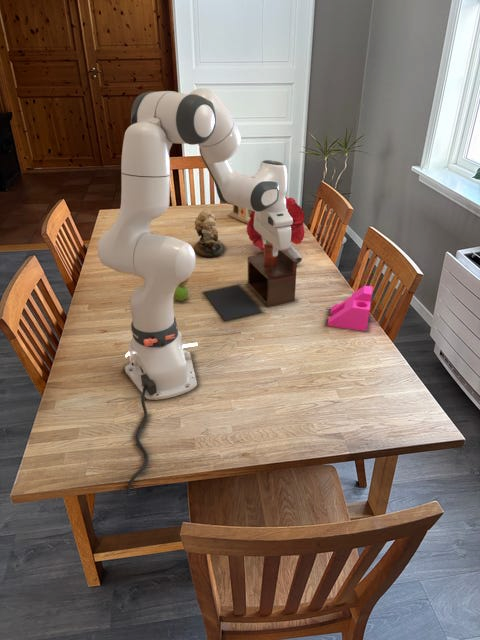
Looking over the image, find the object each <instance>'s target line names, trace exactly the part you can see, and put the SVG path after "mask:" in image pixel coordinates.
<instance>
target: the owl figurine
mask: <svg viewBox="0 0 480 640" xmlns="http://www.w3.org/2000/svg"><path fill="white" fill-rule="evenodd" d="M215 217H216V216H215V215H214V214H213V213H212V212H211V210H209V209H204V210H202V211H201V212H199V214H198V216H197V217H196V218H195V221H194V229H195V231H196V234H197V236H198V237H199V240H198V241H197V242H196V244H195V246H194V248H195V249H194V251H195V252H196V254H197V255H199V256H200V257H203V258H204V257H205V258H211V257H214V258H215V257H219V256H222V255H223V253H224V251H225V246H224V244H223V242H221V240H220V239H219V231H218V229H217V226H216V225H217V223H216V218H215Z"/></svg>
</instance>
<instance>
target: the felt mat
mask: <svg viewBox="0 0 480 640" xmlns="http://www.w3.org/2000/svg"><path fill="white" fill-rule="evenodd" d="M203 294H204V295H205V297H206V298H207V299H208V300H209V302H210V303H211V305H212V306H213V307H214V308H215V310H216V311H217V312H218V313H219V315H220V317H221V318H222V319H223V320H224V322H227V321H232V320H236V319H241V318H245V317H249V316H254V315H257V314H262V313H263V311H262V310H261V309H260V308H259V306H258V305H257V304H256V303H255V302H254V301H253V300H252V299H251V298H250V297H249V295H248V294H247V293H246V292H245V291H244V290H243V289H242V288H241V287H240V286H239V284H236V285H231V286H227V287H222V288H217V289H212V290H211V289H210V290H207V291H204V292H203Z"/></svg>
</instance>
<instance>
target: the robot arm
mask: <svg viewBox="0 0 480 640" xmlns="http://www.w3.org/2000/svg"><path fill="white" fill-rule="evenodd" d="M238 127H239V126H238V125H237V123H236V121H235V119H234V118H233V116H232V115H231V113H230V112H229V110H228V108H227V107H226V105H225V104H224V103H223V101H222V100H221V99H220V98H219V97H218V95H216V93H214V92H213V91H212V90H211V89H210V88H209V89H208V88H203V87H200V88H196V89H194V90H192V91H191V92H189V93H184V92H178V91H173V90H162V91H156V90H150V91H147V92H143V93H141V94H139V95H138V96H137V97H136V98H135V100H134V101H133V104H132V107H131V111H130V125H129V126H128V127H127V129H126V130H125V132H124V136H123V143H122V150H121V166H120V167H121V168H120V169H121V170H120V171H121V174H120V175H121V176H120V177H121V193H120V208H119V212H118V215H117V217H116V220H115V221H114V223H113V225H112V226H111V227H109V228H108V229H107V230H105V231H104V232H103V233H102V235H101V236H100V238H99V240H98V242H97V247H96V248H97V256H98V259H99V261H100V262H101V264H102V265H104V266H105V267H108V268H109V269H111V270H114V271H116V272H117V273H122V274H127V275H131V276H137V277H140V278H142V279H143V281H144V284H142V285H140V286H139V287H137V288H135V290H133V291H132V293H131V295H130V297H129V307H130V308H129V309H130V314H131V315H130V316H131V323H130V326H131V327H130V330H131V334H132V338H131V340H130V341H129V343H128V345H127V347H128V352H127V353H126V354H125V358H127V357H128V356H129V357H128V358H129V363H127V364H126V366H125V367H124V371H125V374H126V375H127V376H128V377H129V379H130V380H131V381H132V382H133V384H134V385H135V386H136V388H137V389H138V390H139V392H140V393H141V398H140V399H141V406H142V411H143V414H144V415H143V419H142V422H141V423H140V424H139V426H138V429H137V430H136V433H135V442H136V444H137V446H138V447H139V449H140V450H141V451H142V453H143V455H144V462H143V465H142V466H141V467H140V468H139V469H138V470H137V471H136V472H135V473H134V474H133V475H132V477H131V478H130V480H128V481H129V482H128V483H127V487H126V489H125V494H126V495H129V494H130V492H131V487H132V485H133V483H134V481H135V480H136V478H138V476H140V475H141V473H143V472H144V471H145V469H146V468H147V466H148V463H149V454H148V451H147V450H146V448H145V446H144V445H143V444H142V443H141V440H140V433H141V431H142V429H143V428H144V426H145V425H146V422H147V420H148V410H147V406H146V403H145V402H146V401H145V399H147V400H152V401H154V400H156V401H157V400H165V399H170V398H175V397H177V396H181V395H184V394H187V393H189V392H190V391H192V390H194V389H195V388H196V387H197V385H198V383H197V377H196V373H195V369H194V365H193V360H192V354H191V351H188V350H187V349H184V348H189V347H198V342H193V343H186V340H182V332H181V331H180V330H179V329H178V322H177V319H176V317H175V311H174V307H175V306H174V299H175V298H174V292H175V290H176V288H177V286H178V285H179V284H180V283H182V282H184V281H185V280H187V279H188V278H189V279H190V277H191V276H192V274H193V272H194V270H195V268H196V263H197V256H196V253H195V252H196V251H195V249H194V248H193V246H192V245H191V244H190V243H188V242H186V241H184V240H182V239H179V238H176V237H174V236H170V235H163V234H158V233H152V232H151V225H152V221H153V220H155V219H158V218H159V217H162V216H163V215H164V214H165V213H167V211H168V209H169V207H170V201H171V200H170V199H171V198H170V197H171V194H170V193H171V187H170V186H171V162H170V161H171V159H170V151H171V148H172V147H173V144H182V145H183V144H186V145H191V146H194V145H198V149H199V154H200V157H201V158H202V162H203V163H204V166H205V167H206V169H207V171H208V173H209V175H210V177H211V178H212V181H213V183H214V186H215V189H216V190H215V191H216V194H217V196H218V199H219V200H220V202H222V203H224V204H227V205H231V206H233V205H236V206H239V207H242V208H245V209H249V210H252V211H255V215H254V229H255V230H256V231H257V232H258V233H259V234H260V235H262V241H263V248H264V245H265V244H266V240H268V241H269V242H270V243H271V244H272V245H273V250H271V255H272V256H274V257H275V256H278V251H279V250H284V251H285V250H286V249H288V248H289V247H290V244H291V242H292V241H291V227H290V225H292V223H293V219H292V217H291V216H290V214H289V213H288V210H287V208H286V200H285V197H286V194H287V191H288V190H287V189H288V171H287V167H286V165H285V164H284V163H283V162H281V161H276V160H271V159H270V160H269V159H265V160H262V161H261V162H260V165H259V169H258V171H257V172H255V174H254V175H248V174H245V173H241V172H238V171H236V170H234V169H232V168H231V166H230V165H229V162H228V160H229V159H230V158H233V156H234V155H235V154H236V153H237V151H238V149H239V147H240V145H241V137H242V136H241V133H240V130H239V128H238Z"/></svg>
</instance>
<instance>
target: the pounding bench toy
mask: <svg viewBox="0 0 480 640" xmlns="http://www.w3.org/2000/svg"><path fill="white" fill-rule="evenodd" d="M251 213H252V210H249V209H245V208H242V207H239V206H236V205H232V211H230V212H229V217H231V218H233V219H236V220H238V221H241V222H243V223H245V224H246V225H247V224H248V222H249V220H250V217H249V216H250V214H251Z"/></svg>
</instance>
